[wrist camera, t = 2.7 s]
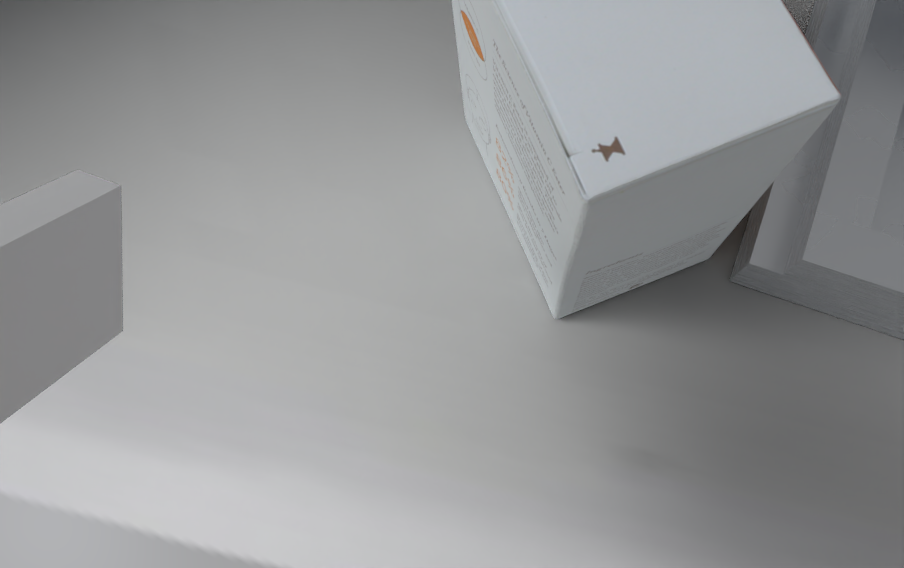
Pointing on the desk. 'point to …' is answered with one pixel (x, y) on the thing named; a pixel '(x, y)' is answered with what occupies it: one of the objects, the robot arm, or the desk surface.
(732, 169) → the small box
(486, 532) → the desk surface
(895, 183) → the grey bin
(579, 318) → the desk surface
